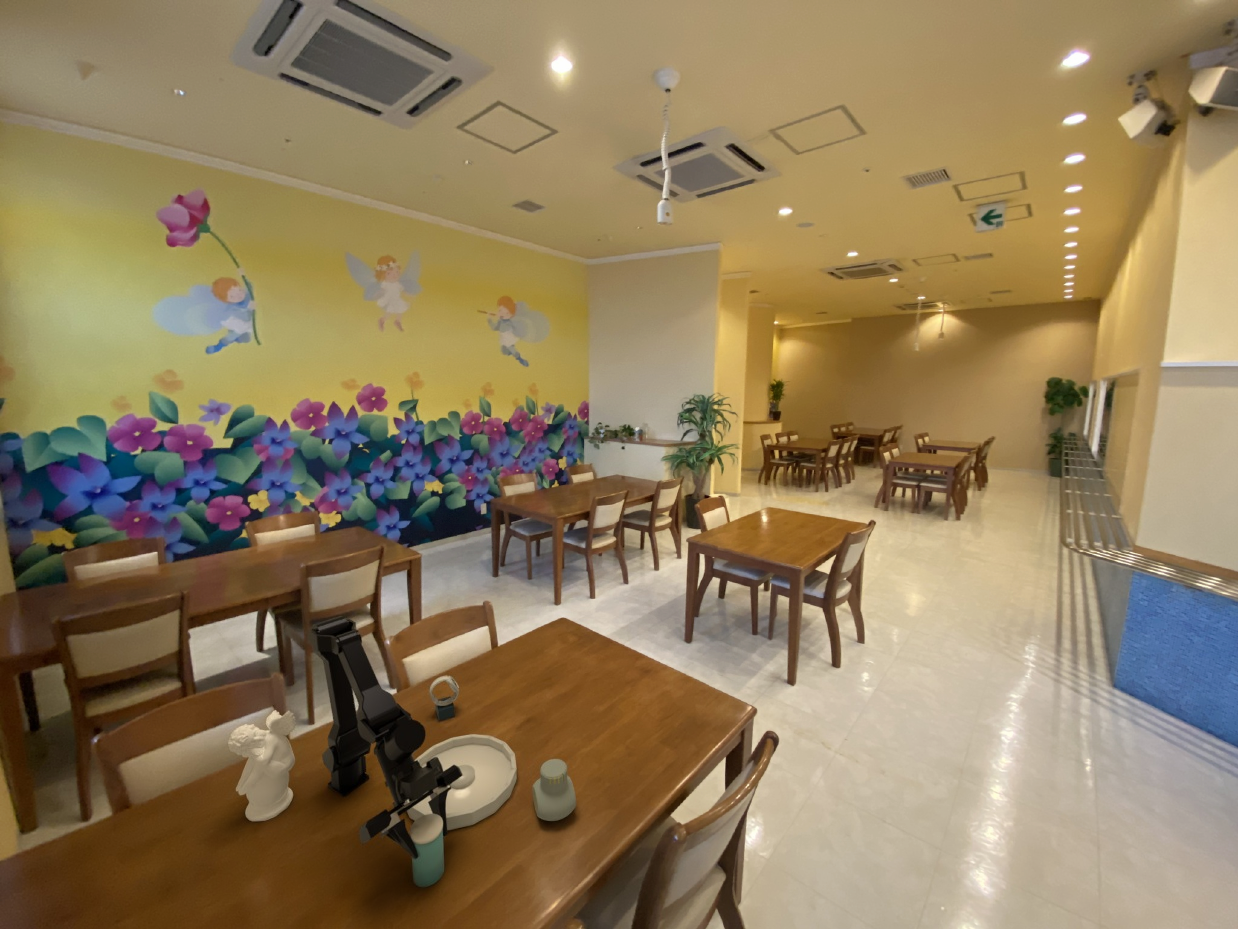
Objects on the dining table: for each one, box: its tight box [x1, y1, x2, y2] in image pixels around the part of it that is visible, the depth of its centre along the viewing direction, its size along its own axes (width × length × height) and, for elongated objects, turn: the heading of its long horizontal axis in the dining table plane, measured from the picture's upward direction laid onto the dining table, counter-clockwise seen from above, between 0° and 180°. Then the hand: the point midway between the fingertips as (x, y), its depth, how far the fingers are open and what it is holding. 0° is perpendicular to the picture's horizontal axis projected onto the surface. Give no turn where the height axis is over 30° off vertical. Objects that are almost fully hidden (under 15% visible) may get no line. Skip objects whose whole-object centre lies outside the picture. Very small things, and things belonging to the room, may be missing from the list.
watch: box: [428, 675, 460, 722], centre depth 140 cm, size 6×8×11 cm
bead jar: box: [409, 814, 445, 888], centre depth 94 cm, size 6×6×10 cm
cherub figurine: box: [227, 709, 296, 822], centre depth 109 cm, size 12×12×22 cm
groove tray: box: [403, 733, 518, 831], centre depth 116 cm, size 25×25×3 cm
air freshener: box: [531, 758, 577, 822], centre depth 109 cm, size 11×8×10 cm
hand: (431, 847), depth 93 cm, fingers closed on bead jar, 6 cm apart
